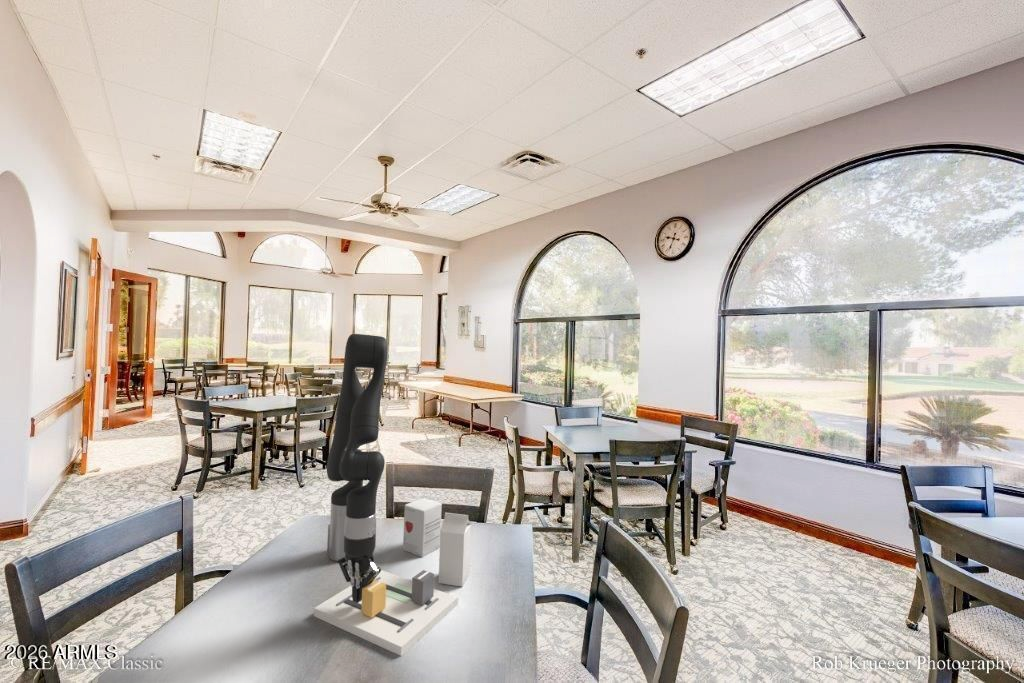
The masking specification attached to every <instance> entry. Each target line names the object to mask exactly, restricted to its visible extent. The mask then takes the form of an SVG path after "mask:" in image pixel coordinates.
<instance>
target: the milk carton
mask: <svg viewBox="0 0 1024 683" xmlns="http://www.w3.org/2000/svg"><path fill="white" fill-rule="evenodd" d="M471 540H472V523H471V522H470V520H469V515H468V514H460V513H453V512H444V518H443V521H442V523H441V531H440V547H439V560H438V562H439V565H438V584H441V585H448V586H449V585H450V586H453V587H454V586H456V587H464V584H465V583H466V581H467V579H468V577H469V576H470V572H471V571H470V569H471V568H470V567H471V543H472V541H471Z"/></svg>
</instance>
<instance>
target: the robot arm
mask: <svg viewBox="0 0 1024 683" xmlns="http://www.w3.org/2000/svg"><path fill="white" fill-rule="evenodd" d="M388 350H389V348H388V341H387V339H386V338H385V337H383V336H380V335H374V334H373V335H372V334H365V333H363V334H362V333H351V334H350V335H349V336H348V338H347V340H346V343H345V350H344V358H343V359H344V360H343V373H342V381H341V386H340V387H341V388H340V392H339V398H338V402H337V406H336V415H335V423H334V431H333V437H332V442H331V445H330V450H329V454H328V456H327V463H326V475H327V478H328V479H329V481H331V482H344V481H346V482H347V483H345V484H344V485H342V486H340V487H339V488H337V489H335V490H333V491H332V492H331V496H330V523H329V524H328V526H327V541H326V542H327V547H326V548H327V549H326V555H327V556H329V557H328V558H329V560H332V561H335V562H338V565H339V567H340V570H341V573H342V574H343V577H344V579H345V581H346V582H347V583H350V586H352V598H353V601H354V602H357V603H358V602H360V601H361V600H362V588H364V587H365V586H367V585H369V584H370V583H372V582H373V580H374V579H375V578H376V577H377V575H378V574H379V573H380V572H381V570H382V568H381V567H380V566H376V564H375V558H374V552H375V549H376V546H377V544H376V542H377V540H376V538H377V537H376V536H377V515H376V511H377V510H376V507H377V492H378V489H379V483H380V480H381V479H382V475H383V472H384V469H385V465H386V464H385V463H386V462H385V457H384V455H383V454H382V453H381V452H380V451H378V450H377V451H376V450H374V451H373V450H372V451H371V450H370V451H363V450H361V449H359V448H360V447H361V446H365V445H367V444H371V443H374V442H375V441H377V440H378V438H379V426H380V424H379V423H380V409H381V408H380V407H381V406H380V405H381V400H382V394H383V388H384V381H385V375H386V369H387V362H388V361H387V360H388V354H389V352H388ZM356 368H365V369H372V370H373V373H372V377H371V379H370V380H369V383H368V385H367V386H366V388H364V387H363V385H362V383H361V382H360V380H359V377H358V375H357V371H356ZM364 481H368V482H367V483H366V484H365V485H364Z"/></svg>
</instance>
